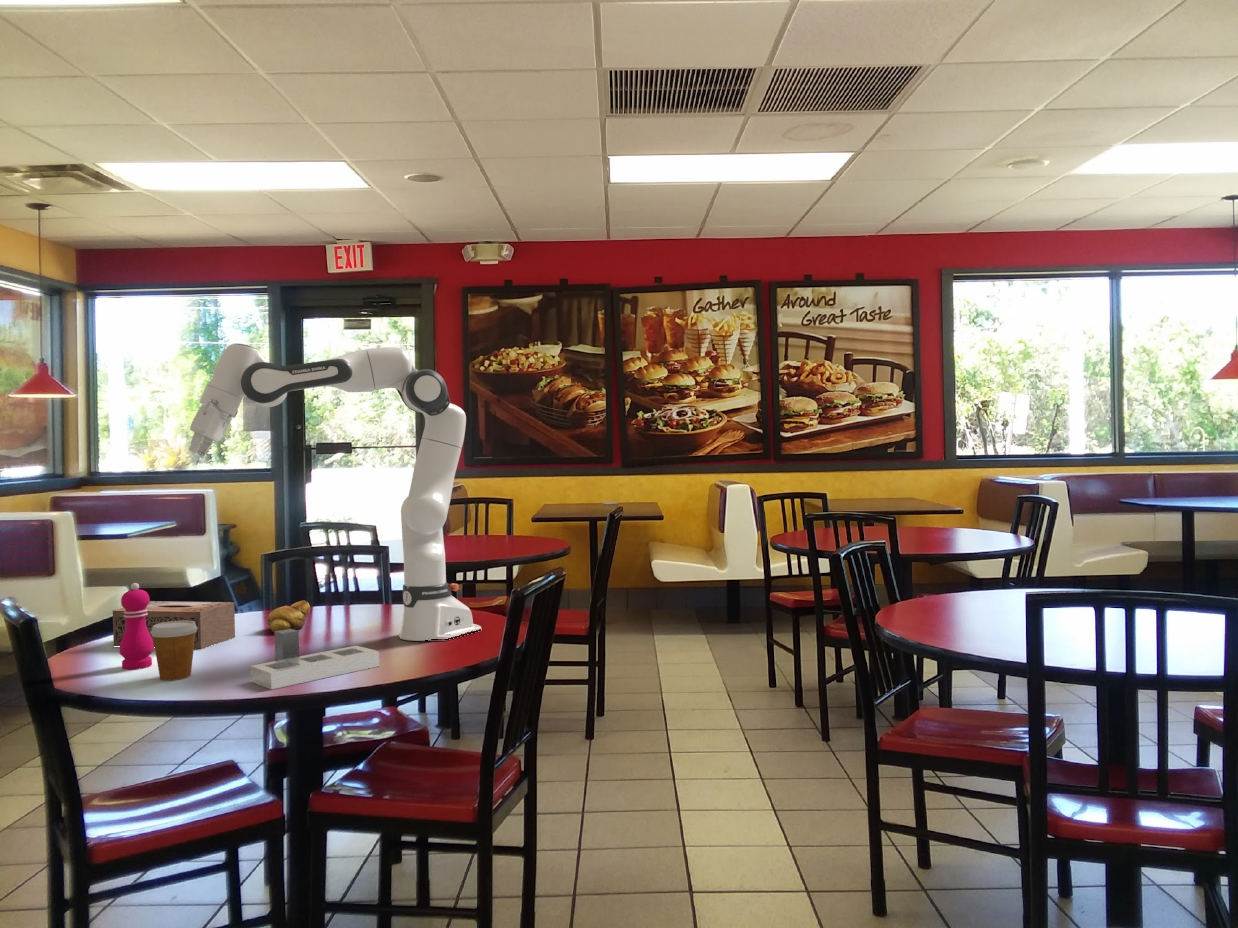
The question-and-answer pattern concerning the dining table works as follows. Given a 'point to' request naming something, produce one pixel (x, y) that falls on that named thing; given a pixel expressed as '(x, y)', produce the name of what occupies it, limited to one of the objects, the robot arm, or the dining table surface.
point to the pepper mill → (136, 630)
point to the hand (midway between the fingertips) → (196, 453)
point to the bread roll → (289, 616)
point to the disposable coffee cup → (174, 648)
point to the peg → (286, 644)
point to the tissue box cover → (207, 616)
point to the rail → (313, 667)
